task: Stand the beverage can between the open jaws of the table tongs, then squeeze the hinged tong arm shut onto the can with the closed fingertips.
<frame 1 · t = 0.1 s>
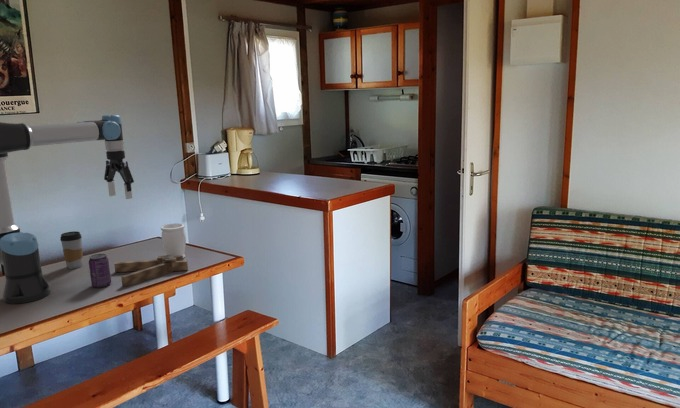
hand: (120, 197, 238), 28 cm above the table, fingers open, 13 cm apart
tong arm: (151, 264, 222), point 3 cm above the table, hinge at 45.0°
jar: (175, 258, 239), on the table
coffee cup: (75, 267, 231), on the table
beverage can: (101, 285, 207), on the table
tongs base: (169, 269, 223), on the table
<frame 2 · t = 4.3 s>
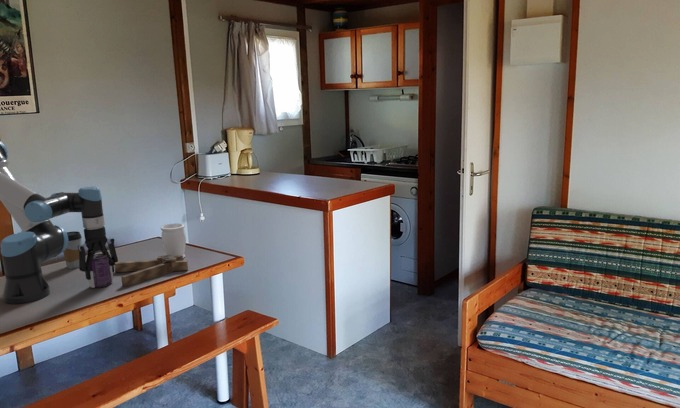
hand: (101, 283, 207), 1 cm above the table, fingers closed on beverage can, 7 cm apart
beverage can: (101, 285, 207), on the table, touching gripper
everything else where it was.
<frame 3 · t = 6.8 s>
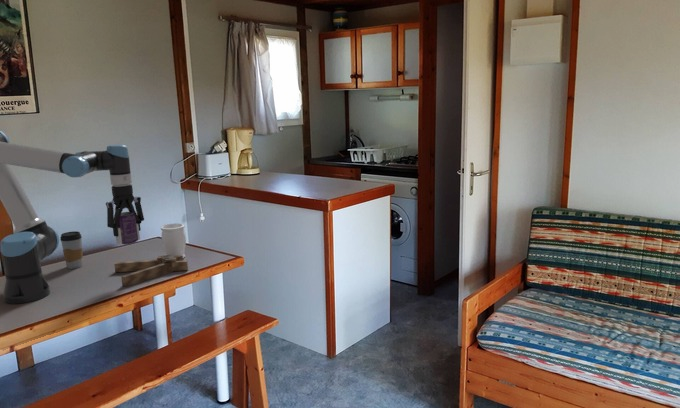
hand: (128, 241, 210), 16 cm above the table, fingers closed on beverage can, 7 cm apart
beverage can: (128, 243, 210), point 15 cm above the table, touching gripper
everything else where it was.
when the fingers open (2 cm above the table, at t = 9.2 s): beverage can stays where it is, on the table.
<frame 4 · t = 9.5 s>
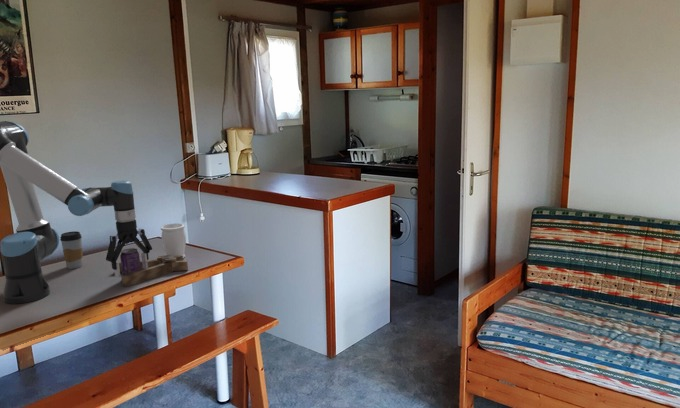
hand: (131, 272, 213), 3 cm above the table, fingers open, 11 cm apart
beverage can: (132, 279, 213), on the table
everything else where it was.
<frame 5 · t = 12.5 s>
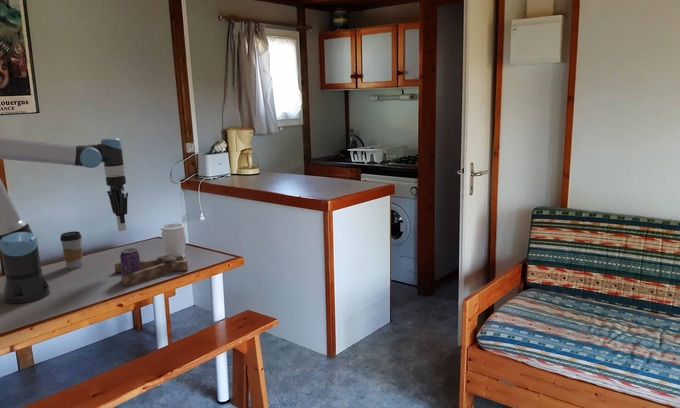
hand: (122, 230, 224), 17 cm above the table, fingers closed
nothing on the table moved.
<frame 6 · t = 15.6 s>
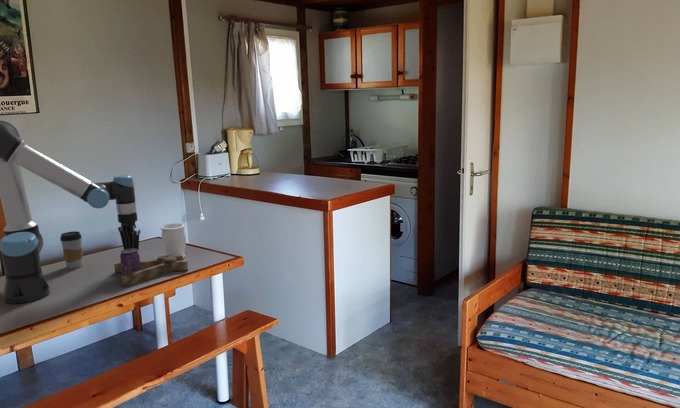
hand: (132, 266, 225), 1 cm above the table, fingers closed
tong arm: (151, 264, 221), point 3 cm above the table, hinge at 44.0°, touching gripper
everything else where it was.
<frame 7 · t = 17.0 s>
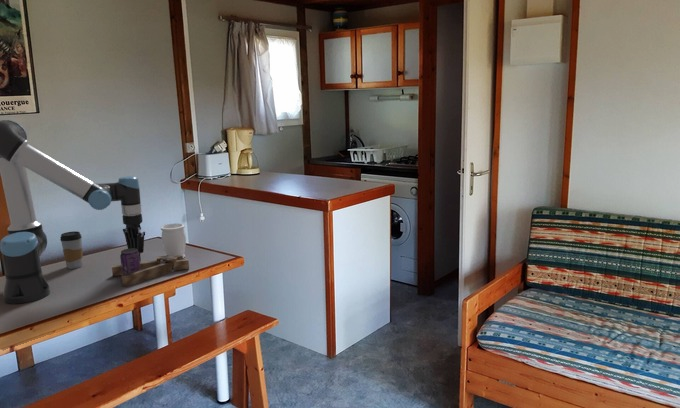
hand: (137, 268, 222), 1 cm above the table, fingers closed
tong arm: (150, 265, 220), point 3 cm above the table, hinge at 31.9°, touching gripper
everything else where it was.
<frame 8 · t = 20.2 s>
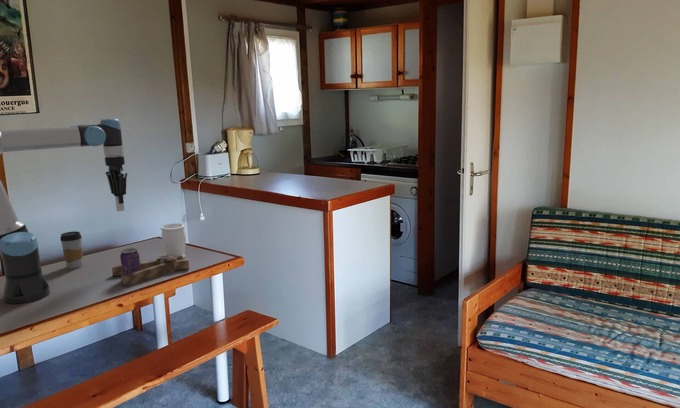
hand: (120, 210, 226), 24 cm above the table, fingers closed
tong arm: (150, 265, 220), point 3 cm above the table, hinge at 31.9°
everything else where it was.
at the end: tong arm at +32° (first picture: +45°); beverage can inside the target area (0.1 cm from its centre), on the table; beverage can tilted 0° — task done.
